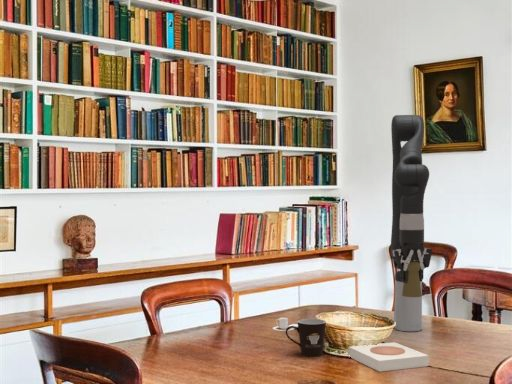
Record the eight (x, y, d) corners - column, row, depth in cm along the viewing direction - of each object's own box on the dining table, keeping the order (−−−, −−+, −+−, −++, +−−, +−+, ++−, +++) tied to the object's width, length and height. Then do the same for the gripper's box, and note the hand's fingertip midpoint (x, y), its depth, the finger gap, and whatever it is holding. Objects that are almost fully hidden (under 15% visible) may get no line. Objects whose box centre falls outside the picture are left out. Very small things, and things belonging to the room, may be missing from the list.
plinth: (348, 356, 219) (348, 345, 219) (394, 351, 225) (394, 341, 225) (379, 371, 202) (379, 359, 202) (428, 366, 208) (428, 354, 208)
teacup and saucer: (300, 329, 261) (300, 317, 261) (289, 333, 254) (289, 321, 254) (279, 326, 265) (279, 315, 265) (268, 330, 259) (268, 319, 259)
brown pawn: (421, 297, 226) (421, 262, 226) (402, 296, 228) (402, 261, 227) (421, 294, 232) (421, 259, 232) (402, 293, 234) (402, 259, 233)
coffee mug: (328, 351, 225) (328, 319, 225) (322, 358, 217) (322, 325, 217) (292, 349, 229) (292, 317, 229) (284, 355, 221) (284, 322, 221)
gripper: (424, 226, 235) (424, 279, 236) (385, 227, 230) (385, 281, 231) (438, 228, 228) (438, 282, 229) (398, 229, 223) (398, 285, 224)
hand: (411, 281), depth 230 cm, fingers closed on brown pawn, 5 cm apart
